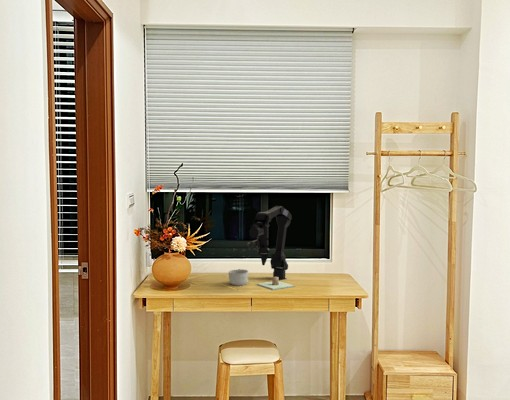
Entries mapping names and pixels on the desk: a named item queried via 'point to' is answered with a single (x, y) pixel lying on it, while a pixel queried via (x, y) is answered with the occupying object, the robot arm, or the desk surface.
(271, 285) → the lid
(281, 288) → the mat
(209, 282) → the desk surface
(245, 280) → the teacup
